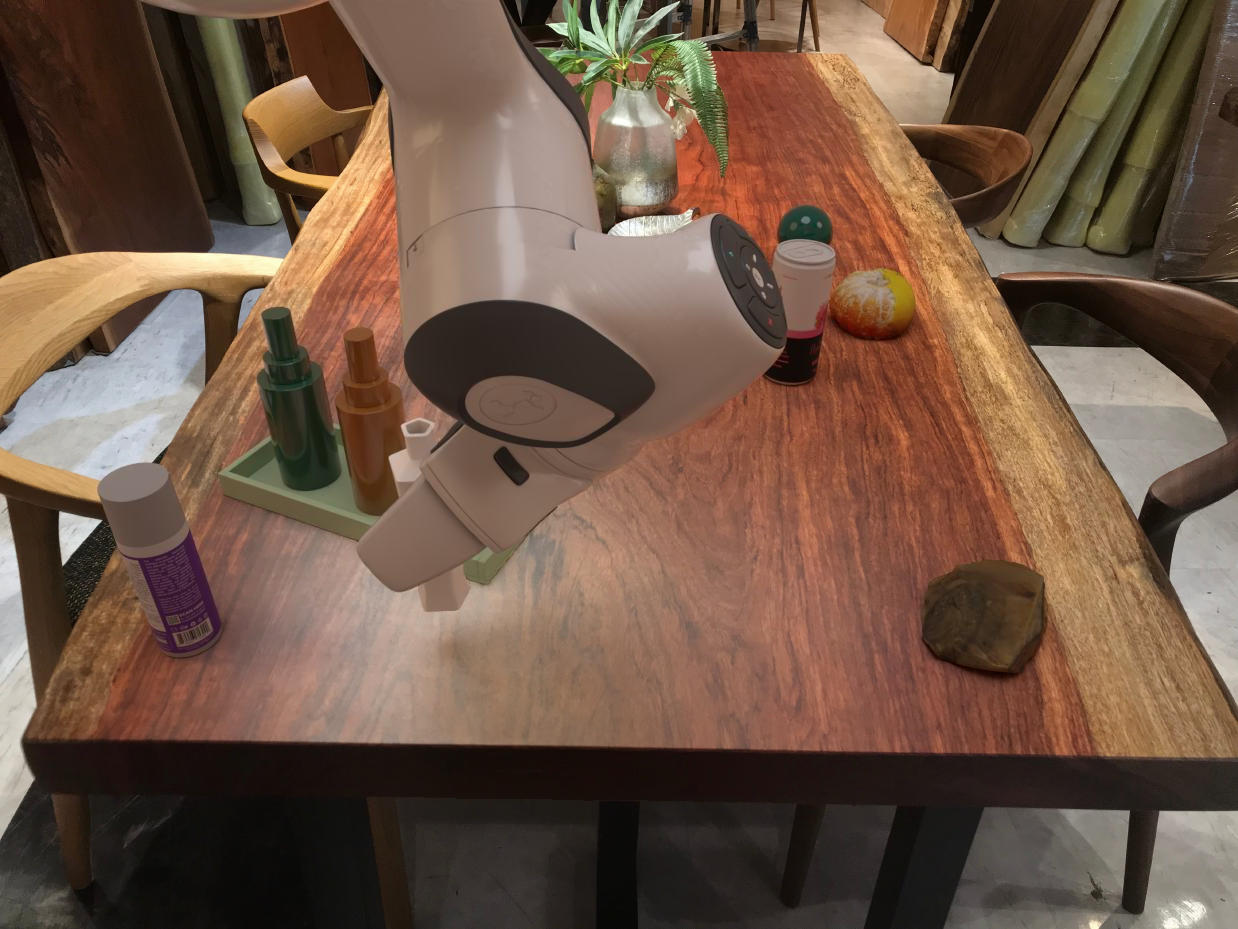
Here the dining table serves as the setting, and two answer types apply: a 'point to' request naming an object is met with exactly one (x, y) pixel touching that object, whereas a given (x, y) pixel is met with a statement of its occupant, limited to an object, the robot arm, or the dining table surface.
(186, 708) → the dining table surface
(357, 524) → the tray
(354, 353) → the bottle
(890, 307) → the fruit
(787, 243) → the beverage can
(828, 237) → the sphere
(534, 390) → the robot arm
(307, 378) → the bottle
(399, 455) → the perfume bottle
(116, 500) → the container
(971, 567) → the decorative stone
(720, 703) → the dining table surface
